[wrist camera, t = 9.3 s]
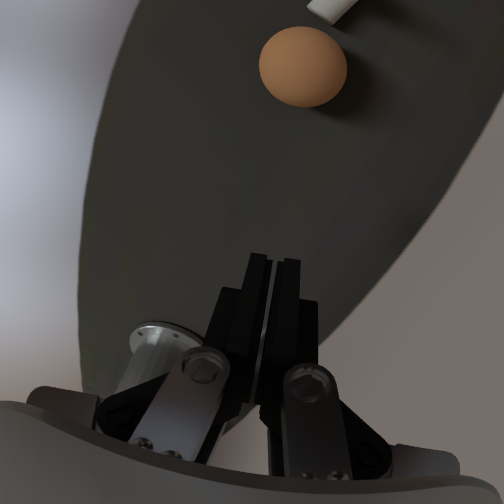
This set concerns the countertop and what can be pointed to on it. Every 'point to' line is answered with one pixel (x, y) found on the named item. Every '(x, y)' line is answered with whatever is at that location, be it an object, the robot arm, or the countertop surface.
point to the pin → (330, 9)
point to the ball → (303, 67)
